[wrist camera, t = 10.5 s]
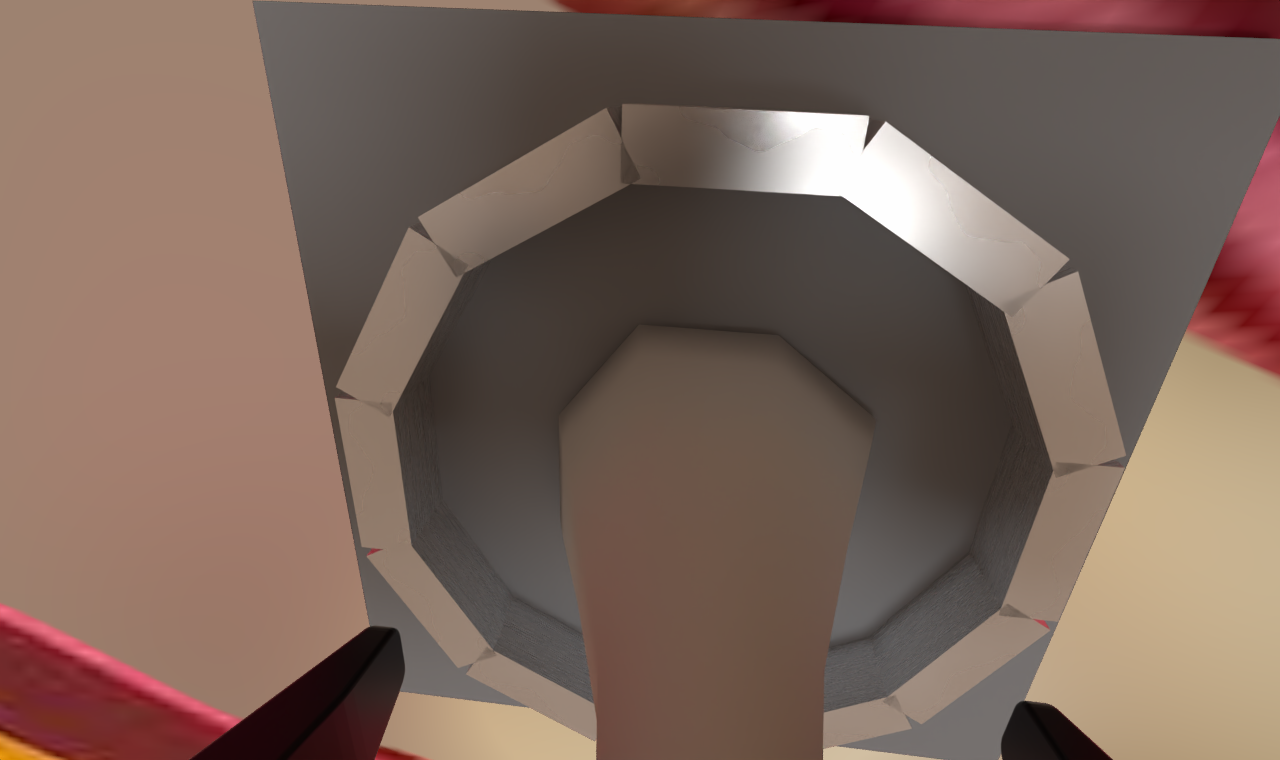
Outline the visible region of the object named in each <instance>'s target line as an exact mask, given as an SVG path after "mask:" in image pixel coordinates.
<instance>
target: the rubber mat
mask: <svg viewBox="0 0 1280 760" xmlns="http://www.w3.org/2000/svg"><path fill="white" fill-rule="evenodd" d="M253 6H254V11H255V16H256V21H257V27H258V32H259V38H260V43H261V48H262V53H263V59H264V65H265V70H266V75H267V80H268V86H269V91H270V97H271V102H272V107H273V112H274V118H275V123H276V129H277V134H278V139H279V145H280V149H281V155H282V161H283V166H284V171H285V177H286V182H287V187H288V193H289V198H290V203H291V209H292V214H293V219H294V225H295V230H296V235H297V241H298V246H299V251H300V257H301V262H302V267H303V272H304V277H305V283H306V288H307V294H308V299H309V304H310V310H311V315H312V321H313V326H314V331H315V337H316V342H317V347H318V353H319V358H320V363H321V369H322V374H323V379H324V385H325V390H326V395H327V400H328V406H329V411H330V416H331V421H332V427H333V433H334V438H335V443H336V449H337V454H338V459H339V465H340V470H341V475H342V481H343V486H344V491H345V496H346V502H347V507H348V512H349V518H350V523H351V529H352V534H353V539H354V544H355V550H356V555H357V560H358V566H359V571H360V577H361V581H362V587H363V593H364V597H365V603H366V609H367V614H368V619H369V624H370V626H385V627H394V628H396V629H397V630H398V631H399V633H400V636H401V642H402V649H403V655H404V661H405V676H404V680H403V683H402V686H401V689H400V691H401V692H409V693H417V694H425V695H433V696H441V697H450V698H457V699H465V700H473V701H481V702H489V703H497V704H505V705H513V706H521V707H528V706H526V705H524V704H522V703H520V702H518V701H516V700H514V699H512V698H510V697H509V696H507V695H505V694H503V693H501V692H499V691H497V690H495V689H493V688H491V687H489V686H487V685H485V684H484V683H482V682H480V681H478V680H476V679H474V678H472V677H470V676H468V675H466V672H467V670H468V668H469V665H470V664H469V665H466V666H463V667H460V668H457V666H456V665H455V664H454V663H453V661H452V660H451V659H450V658H449V657H448V655H447V654H446V653H445V652H444V650H443V649H442V648H441V647H440V646H439V644H438V643H437V642H436V641H435V639H434V638H433V637H432V636H431V635H430V633H429V632H428V631H427V630H426V628H425V627H424V626H423V625H422V624H421V622H420V621H419V620H418V619H417V618H416V616H415V615H414V614H413V613H412V611H411V610H410V609H409V608H408V607H407V605H406V604H405V603H404V602H403V600H402V599H401V598H400V597H399V596H398V594H397V593H396V592H395V591H394V589H393V588H392V587H391V586H390V585H389V583H388V582H387V581H386V580H385V578H384V577H383V576H382V575H381V574H380V572H379V571H378V570H377V569H376V567H375V566H374V565H373V564H372V563H371V561H370V560H369V559H368V558H367V554H368V553H369V552H370V550H371V549H372V548H366V547H362V545H361V540H360V534H359V529H358V523H357V518H356V512H355V507H354V501H353V496H352V490H351V485H350V479H349V474H348V468H347V463H346V457H345V452H344V446H343V441H342V435H341V430H340V424H339V419H338V413H337V408H336V402H335V397H336V396H338V395H339V394H340V393H342V392H343V391H342V390H340V389H339V388H337V387H336V386H337V383H338V381H339V379H340V377H341V375H342V372H343V370H344V368H345V366H346V364H347V361H348V359H349V357H350V355H351V353H352V350H353V348H354V346H355V344H356V342H357V339H358V337H359V335H360V333H361V331H362V328H363V326H364V324H365V322H366V320H367V318H368V315H369V313H370V311H371V309H372V307H373V304H374V302H375V300H376V298H377V296H378V293H379V291H380V289H381V287H382V285H383V282H384V280H385V278H386V276H387V274H388V271H389V269H390V267H391V265H392V263H393V261H394V258H395V256H396V254H397V252H398V250H399V247H400V245H401V243H402V241H403V239H404V236H405V234H406V232H407V230H408V228H409V227H410V226H413V225H415V224H418V223H420V220H419V218H418V217H419V216H421V215H422V214H424V213H426V212H428V211H429V210H431V209H433V208H434V207H436V206H438V205H440V204H441V203H443V202H445V201H446V200H448V199H450V198H452V197H453V196H455V195H457V194H459V193H460V192H462V191H464V190H465V189H467V188H469V187H471V186H472V185H474V184H476V183H477V182H479V181H481V180H483V179H484V178H486V177H488V176H490V175H491V174H493V173H495V172H496V171H498V170H500V169H502V168H503V167H505V166H507V165H508V164H510V163H512V162H514V161H515V160H517V159H519V158H521V157H522V156H524V155H526V154H527V153H529V152H531V151H533V150H534V149H536V148H538V147H539V146H541V145H543V144H545V143H546V142H548V141H550V140H552V139H553V138H555V137H557V136H558V135H560V134H562V133H564V132H565V131H567V130H569V129H570V128H572V127H574V126H576V125H577V124H579V123H581V122H583V121H584V120H586V119H588V118H589V117H591V116H593V115H595V114H596V113H598V112H600V111H601V110H603V109H605V108H609V107H622V104H627V103H644V104H665V105H685V106H706V107H727V108H747V109H768V110H789V111H809V112H830V113H848V114H857V115H867V116H869V119H870V120H878V121H886V122H887V123H888V124H890V125H891V126H892V127H894V128H895V129H896V130H898V131H899V132H900V133H902V134H903V135H904V136H906V137H907V138H908V139H910V140H911V141H912V142H914V143H915V144H916V145H918V146H919V147H920V148H922V149H923V150H924V151H926V152H927V153H928V154H930V155H931V156H932V157H934V158H935V159H936V160H938V161H939V162H941V163H942V164H943V165H945V166H946V167H947V168H949V169H950V170H951V171H953V172H954V173H955V174H957V175H958V176H959V177H961V178H962V179H963V180H965V181H966V182H967V183H969V184H970V185H971V186H973V187H974V188H975V189H977V190H978V191H979V192H981V193H982V194H983V195H985V196H986V197H987V198H989V199H990V200H991V201H993V202H994V203H995V204H997V205H998V206H999V207H1001V208H1002V209H1003V210H1005V211H1006V212H1007V213H1009V214H1010V215H1011V216H1013V217H1014V218H1015V219H1017V220H1018V221H1019V222H1021V223H1022V224H1023V225H1025V226H1026V227H1028V228H1029V229H1030V230H1032V231H1033V232H1034V233H1036V234H1037V235H1038V236H1040V237H1041V238H1042V239H1044V240H1045V241H1046V242H1048V243H1049V244H1050V245H1052V246H1053V247H1054V248H1056V249H1057V250H1058V251H1060V252H1061V253H1062V254H1064V255H1065V256H1066V257H1068V258H1069V259H1070V260H1069V261H1068V262H1067V263H1066V264H1065V265H1066V266H1068V267H1070V268H1072V269H1074V270H1076V271H1078V273H1079V277H1080V281H1081V284H1082V288H1083V292H1084V296H1085V300H1086V304H1087V307H1088V311H1089V315H1090V319H1091V323H1092V327H1093V330H1094V334H1095V338H1096V342H1097V346H1098V349H1099V353H1100V357H1101V361H1102V365H1103V369H1104V372H1105V376H1106V380H1107V384H1108V388H1109V392H1110V395H1111V399H1112V403H1113V407H1114V411H1115V415H1116V418H1117V422H1118V426H1119V430H1120V434H1121V438H1122V441H1123V445H1124V449H1125V453H1126V456H1124V457H1120V458H1117V459H1116V460H1117V461H1118V462H1119V463H1120V464H1121V465H1122V466H1123V467H1125V469H1126V466H1127V464H1128V462H1129V459H1130V457H1131V455H1132V453H1133V450H1134V448H1135V446H1136V443H1137V441H1138V439H1139V437H1140V434H1141V432H1142V430H1143V427H1144V425H1145V423H1146V421H1147V418H1148V416H1149V414H1150V411H1151V409H1152V407H1153V405H1154V402H1155V400H1156V398H1157V395H1158V393H1159V391H1160V389H1161V386H1162V384H1163V381H1164V379H1165V377H1166V375H1167V372H1168V370H1169V367H1170V366H1171V363H1172V361H1173V359H1174V356H1175V354H1176V352H1177V350H1178V347H1179V345H1180V343H1181V340H1182V338H1183V336H1184V334H1185V331H1186V329H1187V327H1188V324H1189V322H1190V320H1191V318H1192V315H1193V313H1194V311H1195V308H1196V306H1197V304H1198V301H1199V299H1200V297H1201V295H1202V292H1203V290H1204V288H1205V285H1206V283H1207V281H1208V279H1209V276H1210V274H1211V272H1212V269H1213V267H1214V265H1215V263H1216V260H1217V258H1218V256H1219V253H1220V251H1221V249H1222V247H1223V244H1224V242H1225V240H1226V237H1227V235H1228V233H1229V231H1230V228H1231V226H1232V224H1233V221H1234V219H1235V217H1236V214H1237V212H1238V210H1239V208H1240V205H1241V203H1242V201H1243V198H1244V196H1245V194H1246V192H1247V189H1248V187H1249V185H1250V182H1251V180H1252V178H1253V176H1254V173H1255V171H1256V169H1257V166H1258V164H1259V162H1260V160H1261V157H1262V155H1263V153H1264V150H1265V148H1266V146H1267V144H1268V141H1269V139H1270V137H1271V134H1272V132H1273V130H1274V127H1275V125H1276V123H1277V121H1278V118H1279V116H1280V39H1265V38H1238V37H1212V36H1185V35H1158V34H1132V33H1105V32H1078V31H1051V30H1025V29H998V28H971V27H945V26H918V25H891V24H864V23H838V22H811V21H784V20H758V19H731V18H704V17H677V16H651V15H624V14H597V13H571V12H543V11H517V10H490V9H463V8H436V7H408V6H383V5H357V4H356V5H355V4H330V3H303V2H277V1H253ZM638 325H652V326H665V327H678V328H691V329H704V330H717V331H730V332H743V333H756V334H769V335H779V336H780V337H781V338H782V339H783V340H785V341H786V342H787V343H788V344H789V345H790V346H792V347H793V348H794V349H795V350H796V351H797V352H799V353H800V354H801V355H802V356H803V357H804V358H806V359H807V360H808V361H809V362H810V363H811V364H812V365H814V366H815V367H816V368H817V369H818V370H819V371H821V372H822V373H823V374H824V375H825V376H826V377H828V378H829V379H830V380H831V381H832V382H833V383H835V384H836V385H837V386H838V387H839V388H840V389H842V390H843V391H844V392H845V393H846V394H847V395H849V396H850V397H851V398H852V399H853V400H854V401H855V402H857V403H858V404H859V405H860V406H861V407H862V408H864V409H865V410H866V411H867V412H868V413H869V414H871V415H872V416H873V417H874V418H875V419H876V423H875V429H874V434H873V439H872V445H871V449H870V454H869V458H868V462H867V467H866V471H865V475H864V480H863V484H862V488H861V493H860V497H859V501H858V505H857V510H856V514H855V518H854V523H853V527H852V531H851V536H850V540H849V544H848V549H847V553H846V558H845V564H844V569H843V574H842V580H841V585H840V590H839V596H838V601H837V606H836V611H835V617H834V622H833V627H832V633H831V638H830V643H829V647H831V646H835V645H839V644H842V643H846V642H850V641H853V640H857V639H861V638H864V637H868V636H870V635H871V634H872V633H874V632H875V631H876V630H877V629H878V628H880V627H881V626H882V625H883V624H884V623H885V622H887V621H888V620H889V619H890V618H891V617H893V616H894V615H895V614H896V613H897V612H898V611H900V610H901V609H902V608H903V607H904V606H905V605H907V604H908V603H909V602H910V601H911V600H913V599H914V598H915V597H916V596H917V595H918V594H920V593H921V592H922V591H923V590H924V589H925V588H927V587H928V586H929V585H930V584H931V583H933V582H934V581H935V580H936V579H937V578H938V577H940V576H941V575H942V574H943V573H944V572H945V571H947V570H948V569H949V568H950V567H951V566H953V565H954V564H955V563H956V562H957V561H958V560H960V559H961V558H962V557H963V556H964V555H965V554H967V553H968V552H969V549H970V546H971V543H972V540H973V537H974V534H975V531H976V528H977V525H978V522H979V519H980V516H981V513H982V510H983V507H984V504H985V501H986V498H987V495H988V492H989V489H990V486H991V483H992V480H993V477H994V474H995V471H996V468H997V465H998V462H999V459H1000V456H1001V453H1002V450H1003V447H1004V444H1005V441H1006V438H1007V435H1008V432H1009V429H1010V426H1011V422H1010V419H1009V416H1008V413H1007V410H1006V407H1005V404H1004V401H1003V398H1002V395H1001V392H1000V389H999V386H998V383H997V380H996V377H995V374H994V371H993V368H992V365H991V362H990V359H989V356H988V353H987V350H986V347H985V344H984V341H983V338H982V334H981V331H980V328H979V325H978V322H977V319H976V316H975V313H974V310H973V307H972V304H971V301H970V298H969V295H968V292H967V289H966V286H965V283H963V282H962V281H961V280H959V279H958V278H956V277H955V276H954V275H952V274H951V273H949V272H948V271H947V270H945V269H944V268H942V267H941V266H940V265H938V264H937V263H935V262H934V261H933V260H931V259H930V258H928V257H927V256H926V255H924V254H923V253H921V252H920V251H919V250H917V249H916V248H914V247H913V246H912V245H910V244H909V243H907V242H906V241H905V240H903V239H902V238H900V237H899V236H898V235H896V234H895V233H894V232H892V231H891V230H889V229H888V228H887V227H885V226H884V225H882V224H881V223H880V222H878V221H877V220H875V219H874V218H873V217H871V216H870V215H868V214H867V213H866V212H864V211H863V210H861V209H860V208H859V207H857V206H856V205H854V204H853V203H852V202H850V201H849V200H847V199H846V198H845V197H843V196H830V195H813V194H796V193H779V192H762V191H745V190H727V189H710V188H693V187H676V186H659V185H642V184H630V185H628V186H626V187H624V188H623V189H621V190H619V191H617V192H615V193H613V194H611V195H609V196H608V197H606V198H604V199H602V200H600V201H598V202H596V203H594V204H593V205H591V206H589V207H587V208H585V209H583V210H581V211H580V212H578V213H576V214H574V215H572V216H570V217H568V218H566V219H565V220H563V221H561V222H559V223H557V224H555V225H553V226H551V227H550V228H548V229H546V230H544V231H542V232H540V233H538V234H537V235H535V236H533V237H531V238H529V239H527V240H525V241H523V242H522V243H520V244H518V245H516V246H514V247H512V248H510V249H508V250H507V251H505V252H503V253H501V254H499V255H497V256H495V257H494V258H492V259H491V261H490V262H489V264H488V266H487V268H486V270H485V272H484V274H483V276H482V277H481V279H480V281H479V283H478V285H477V287H476V289H475V291H474V292H473V294H472V296H471V298H470V300H469V302H468V304H467V306H466V308H465V309H464V311H463V313H462V315H461V317H460V319H459V321H458V323H457V324H456V326H455V328H454V330H453V332H452V334H451V336H450V338H449V339H448V341H447V343H446V345H445V347H444V349H443V351H442V353H441V354H440V356H439V358H438V360H437V362H436V364H435V366H434V368H433V370H432V371H431V373H430V385H431V394H432V403H433V412H434V422H435V431H436V440H437V449H438V458H439V468H440V477H441V486H442V495H443V500H444V501H445V503H446V504H447V505H448V507H449V508H450V510H451V511H452V512H453V514H454V515H455V516H456V518H457V519H458V520H459V522H460V523H461V524H462V526H463V527H464V529H465V530H466V531H467V533H468V534H469V535H470V537H471V538H472V539H473V541H474V542H475V544H476V545H477V546H478V548H479V549H480V550H481V552H482V553H483V554H484V556H485V557H486V558H487V560H488V561H489V563H490V564H491V565H492V567H493V568H494V569H495V571H496V572H497V573H498V575H499V576H500V578H501V579H502V580H503V582H504V583H505V584H506V586H507V587H508V588H509V590H510V591H511V593H512V594H513V595H514V597H516V598H518V599H520V600H522V601H524V602H525V603H527V604H529V605H531V606H533V607H535V608H536V609H538V610H540V611H542V612H544V613H545V614H547V615H549V616H551V617H553V618H555V619H556V620H558V621H560V622H562V623H564V624H566V625H567V626H569V627H571V628H573V629H575V630H577V631H578V632H580V633H582V627H581V621H580V615H579V608H578V603H577V599H576V594H575V590H574V585H573V581H572V576H571V572H570V567H569V563H568V558H567V554H566V549H565V545H564V540H563V534H562V528H561V522H560V483H559V414H560V413H561V412H562V411H563V409H564V408H565V407H566V406H567V405H568V404H569V403H570V402H571V400H572V399H573V398H574V397H575V396H576V395H577V394H578V393H579V391H580V390H581V389H582V388H583V387H584V386H585V385H586V384H587V382H588V381H589V380H590V379H591V378H592V377H593V376H594V375H595V373H596V372H597V371H598V370H599V369H600V368H601V367H602V366H603V364H604V363H605V362H606V361H607V360H608V359H609V358H610V357H611V355H612V354H613V353H614V352H615V351H616V350H617V349H618V348H619V346H620V345H621V344H622V343H623V342H624V341H625V340H626V339H627V337H628V336H629V335H630V334H631V333H632V332H633V331H634V330H635V328H636V327H637V326H638ZM1125 469H1124V471H1125ZM1124 471H1123V473H1124ZM1122 475H1123V474H1122ZM1121 478H1122V476H1121ZM1121 478H1120V480H1121ZM1120 480H1119V482H1120ZM1118 485H1119V483H1118ZM1118 485H1117V487H1118ZM1117 487H1116V489H1117ZM1115 491H1116V490H1115ZM1114 494H1115V492H1114ZM1114 494H1113V496H1114ZM1112 498H1113V497H1112ZM1111 501H1112V499H1111ZM1111 501H1110V503H1111ZM1110 503H1109V505H1110ZM1108 508H1109V506H1108ZM1108 508H1107V510H1108ZM1107 510H1106V512H1107ZM1105 514H1106V513H1105ZM1104 517H1105V515H1104ZM1104 517H1103V519H1104ZM1103 519H1102V521H1103ZM1101 524H1102V522H1101ZM1101 524H1100V526H1101ZM1100 526H1099V528H1100ZM1098 530H1099V529H1098ZM1097 533H1098V531H1097ZM1097 533H1096V535H1097ZM1095 537H1096V536H1095ZM1094 540H1095V538H1094ZM1094 540H1093V542H1094ZM1093 542H1092V544H1093ZM1091 546H1092V545H1091ZM1090 549H1091V547H1090ZM1090 549H1089V551H1090ZM1088 553H1089V552H1088ZM1087 556H1088V554H1087ZM1087 556H1086V558H1087ZM1086 558H1085V560H1086ZM1084 563H1085V561H1084ZM1084 563H1083V565H1084ZM1083 565H1082V567H1083ZM1081 569H1082V568H1081ZM1080 572H1081V570H1080ZM1080 572H1079V574H1080ZM1079 574H1078V576H1079ZM1077 578H1078V577H1077ZM1076 580H1077V579H1076ZM1075 583H1076V581H1075ZM1074 585H1075V584H1074ZM1073 588H1074V586H1073ZM1073 588H1072V590H1073ZM1071 592H1072V591H1071ZM1070 594H1071V593H1070ZM1069 597H1070V595H1069ZM1069 597H1068V599H1069ZM1067 601H1068V600H1067ZM1066 604H1067V602H1066ZM1066 604H1065V606H1066ZM1064 608H1065V607H1064ZM1063 611H1064V609H1063ZM1063 611H1062V613H1063ZM1062 613H1061V615H1062ZM1060 617H1061V616H1060ZM1059 620H1060V618H1059ZM1059 620H1058V622H1059ZM1044 621H1045V622H1046V624H1047V626H1048V627H1049V629H1050V631H1049V632H1048V633H1046V634H1045V635H1044V636H1042V637H1041V638H1039V639H1038V640H1037V641H1035V642H1034V643H1033V644H1031V645H1030V646H1029V647H1027V648H1026V649H1024V650H1023V651H1022V652H1020V653H1019V654H1018V655H1016V656H1015V657H1013V658H1012V659H1011V660H1009V661H1008V662H1007V663H1005V664H1004V665H1002V666H1001V667H1000V668H998V669H997V670H996V671H994V672H993V673H992V674H990V675H989V676H987V677H986V678H985V679H983V680H982V681H981V682H979V683H978V684H976V685H975V686H974V687H972V688H971V689H970V690H968V691H967V692H965V693H964V694H963V695H961V696H960V697H959V698H957V699H956V700H955V701H953V702H952V703H950V704H949V705H948V706H946V707H945V708H944V709H942V710H941V711H939V712H938V713H937V714H935V715H934V716H933V717H931V718H930V719H928V720H927V721H926V722H924V723H923V724H920V723H919V722H917V721H915V720H913V719H912V718H910V717H908V718H909V721H910V724H911V728H912V729H908V730H904V731H900V732H895V733H891V734H886V735H882V736H878V737H873V738H869V739H864V740H860V741H856V742H851V743H847V744H842V745H838V746H840V747H849V748H856V749H865V750H872V751H880V752H888V753H896V754H903V755H911V756H919V757H928V758H936V759H943V760H998V759H999V757H1000V755H1001V739H1002V736H1003V733H1004V731H1005V729H1006V726H1007V724H1008V722H1009V719H1010V717H1011V715H1012V712H1013V710H1014V708H1015V706H1016V704H1017V703H1019V702H1020V701H1024V700H1025V698H1026V695H1027V693H1028V691H1029V688H1030V686H1031V684H1032V681H1033V679H1034V677H1035V675H1036V672H1037V670H1038V668H1039V666H1040V663H1041V661H1042V659H1043V656H1044V654H1045V652H1046V649H1047V647H1048V645H1049V643H1050V640H1051V638H1052V636H1053V633H1054V631H1055V629H1056V627H1057V624H1058V622H1055V621H1046V620H1044ZM582 634H583V633H582ZM528 708H530V707H528Z"/></svg>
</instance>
